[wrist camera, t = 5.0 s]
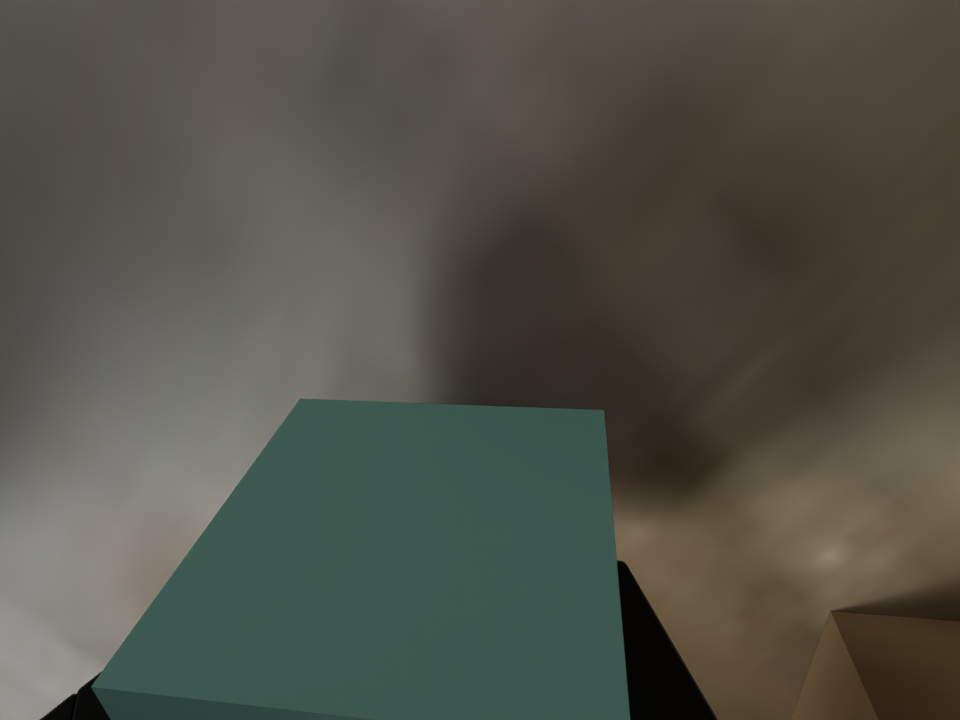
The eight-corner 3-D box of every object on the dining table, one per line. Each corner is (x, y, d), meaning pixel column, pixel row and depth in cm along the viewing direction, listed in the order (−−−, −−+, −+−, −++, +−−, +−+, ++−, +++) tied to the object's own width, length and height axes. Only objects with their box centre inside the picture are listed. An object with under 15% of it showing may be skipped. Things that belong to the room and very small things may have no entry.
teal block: (346, 599, 12) (225, 908, 8) (300, 398, 10) (91, 687, 6) (588, 620, 12) (599, 970, 7) (603, 409, 9) (633, 749, 5)
